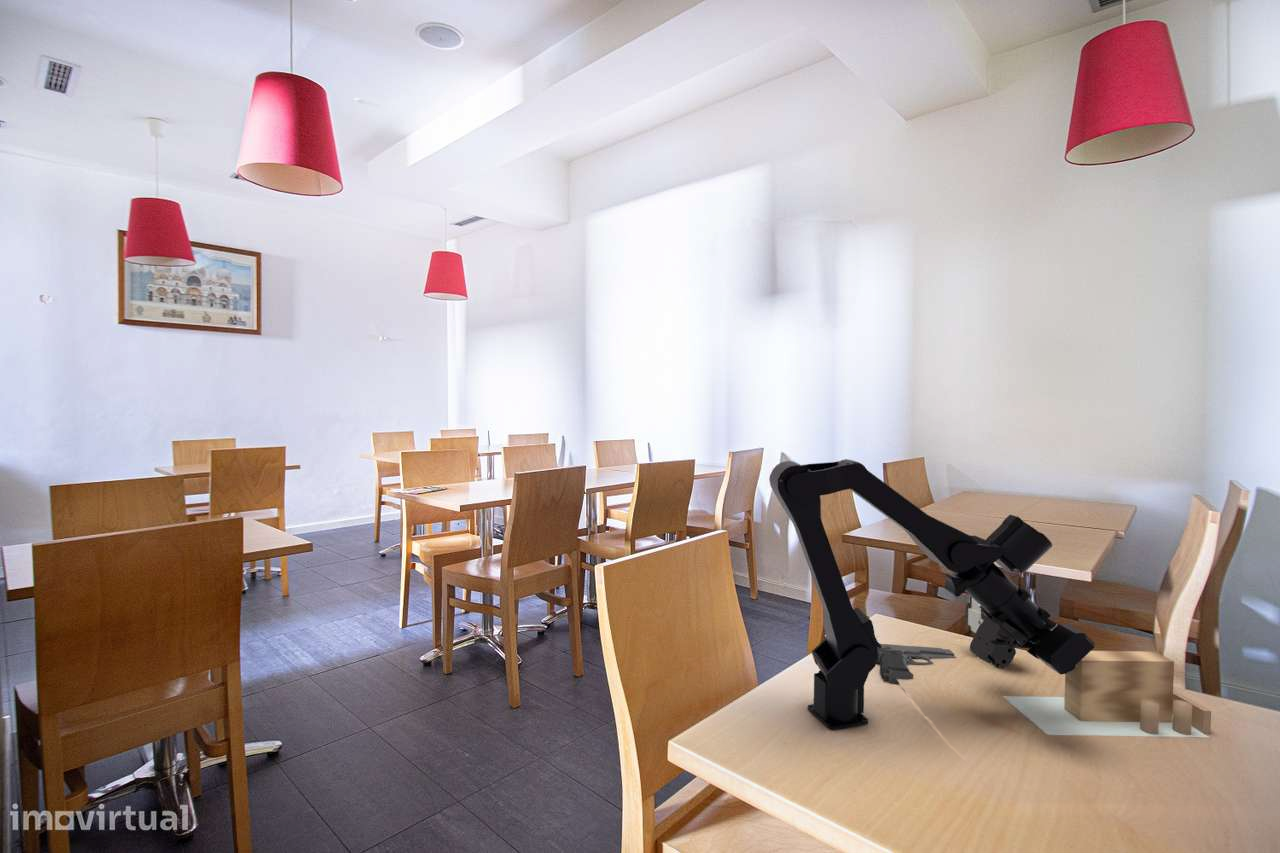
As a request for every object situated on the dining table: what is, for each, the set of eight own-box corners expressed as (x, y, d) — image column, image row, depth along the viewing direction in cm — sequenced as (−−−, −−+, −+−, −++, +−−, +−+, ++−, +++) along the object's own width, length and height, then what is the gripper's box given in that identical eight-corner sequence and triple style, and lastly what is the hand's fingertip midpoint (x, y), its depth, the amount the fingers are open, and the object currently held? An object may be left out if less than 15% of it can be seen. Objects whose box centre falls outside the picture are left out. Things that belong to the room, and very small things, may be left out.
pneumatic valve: (986, 649, 115) (988, 587, 115) (1032, 677, 104) (1034, 608, 103) (959, 650, 115) (960, 588, 114) (1002, 679, 103) (1004, 609, 103)
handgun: (984, 674, 101) (949, 643, 113) (885, 667, 101) (860, 637, 113) (981, 693, 101) (947, 660, 113) (883, 686, 102) (859, 654, 114)
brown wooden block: (1080, 721, 88) (1082, 660, 88) (1064, 709, 92) (1066, 650, 91) (1171, 722, 88) (1174, 661, 87) (1152, 710, 91) (1154, 651, 91)
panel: (1047, 740, 85) (1048, 706, 85) (1002, 701, 96) (1003, 671, 95) (1216, 742, 84) (1218, 709, 84) (1152, 703, 95) (1153, 673, 95)
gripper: (929, 610, 99) (996, 677, 99) (992, 658, 81) (1074, 740, 81) (978, 562, 99) (1046, 630, 99) (1053, 600, 80) (1136, 683, 80)
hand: (1071, 668), depth 90 cm, fingers closed
